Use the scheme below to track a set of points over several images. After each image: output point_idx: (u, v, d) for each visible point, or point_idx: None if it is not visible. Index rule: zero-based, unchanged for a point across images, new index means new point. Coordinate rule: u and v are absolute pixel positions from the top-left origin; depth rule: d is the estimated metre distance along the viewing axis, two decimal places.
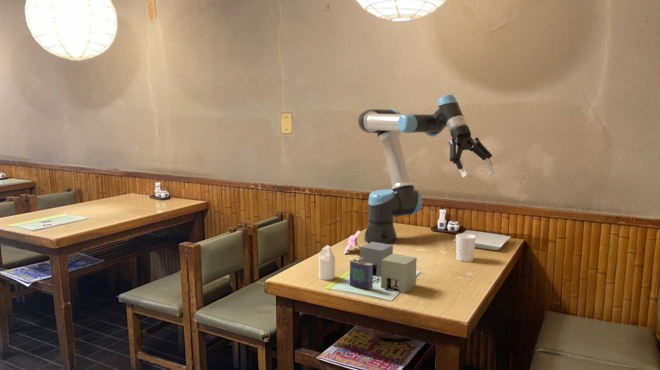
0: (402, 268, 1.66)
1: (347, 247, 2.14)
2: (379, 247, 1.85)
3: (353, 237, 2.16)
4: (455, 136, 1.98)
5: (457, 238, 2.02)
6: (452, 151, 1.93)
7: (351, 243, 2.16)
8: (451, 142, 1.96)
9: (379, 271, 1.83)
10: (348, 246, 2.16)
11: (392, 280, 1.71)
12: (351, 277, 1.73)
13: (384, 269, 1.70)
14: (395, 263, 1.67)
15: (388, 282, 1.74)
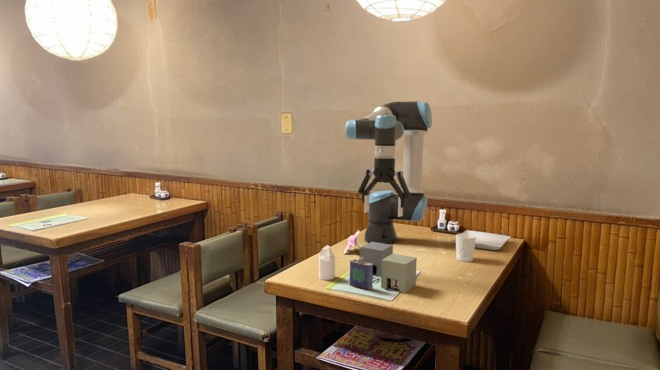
0: (402, 268, 1.66)
1: (347, 247, 2.14)
2: (379, 247, 1.85)
3: (353, 237, 2.16)
4: None
5: (457, 238, 2.02)
6: None
7: (351, 243, 2.15)
8: None
9: (379, 271, 1.83)
10: (348, 246, 2.16)
11: (392, 280, 1.71)
12: (351, 277, 1.73)
13: (384, 269, 1.70)
14: (395, 263, 1.67)
15: (388, 282, 1.74)
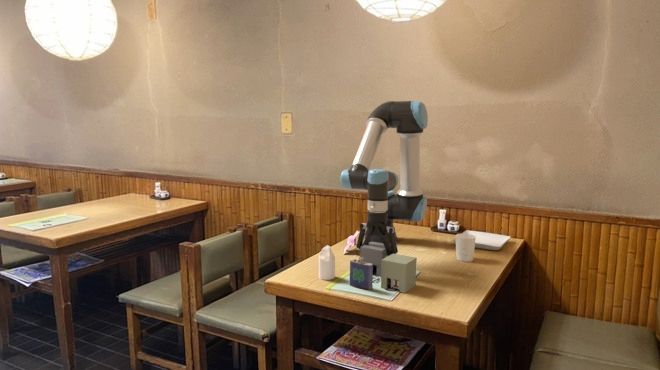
0: (402, 268, 1.66)
1: (346, 247, 2.14)
2: (379, 247, 1.85)
3: (352, 237, 2.16)
4: None
5: (457, 238, 2.02)
6: None
7: (350, 243, 2.15)
8: None
9: (379, 271, 1.83)
10: (347, 246, 2.16)
11: (392, 280, 1.71)
12: (351, 277, 1.73)
13: (384, 269, 1.70)
14: (395, 263, 1.67)
15: (388, 282, 1.74)
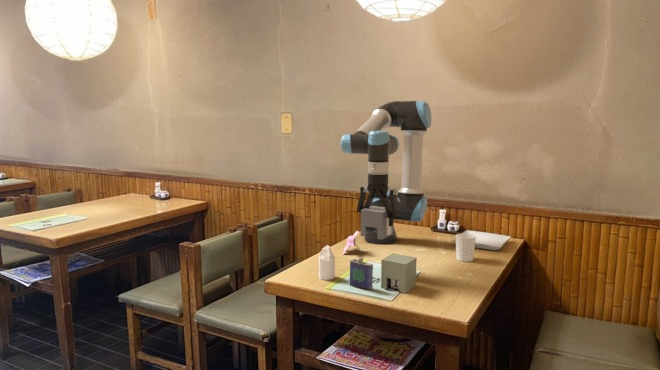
0: (402, 268, 1.66)
1: (346, 247, 2.13)
2: (380, 210, 1.82)
3: (351, 237, 2.16)
4: None
5: (457, 238, 2.02)
6: None
7: (350, 243, 2.15)
8: None
9: (380, 233, 1.80)
10: (347, 246, 2.15)
11: (392, 280, 1.71)
12: (351, 277, 1.73)
13: (384, 269, 1.70)
14: (395, 263, 1.67)
15: (388, 282, 1.74)
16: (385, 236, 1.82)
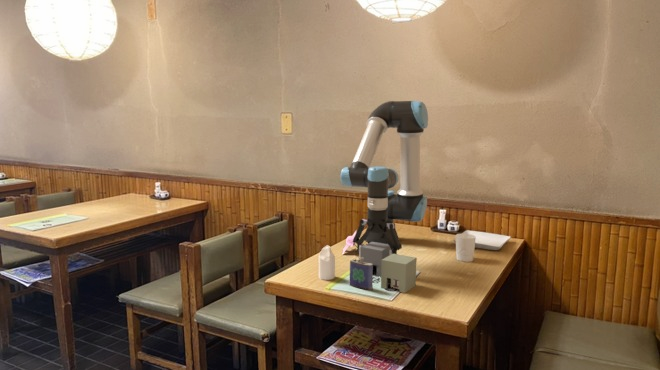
0: (402, 268, 1.66)
1: (345, 247, 2.13)
2: (379, 247, 1.85)
3: (351, 237, 2.16)
4: None
5: (457, 238, 2.02)
6: None
7: (349, 243, 2.15)
8: None
9: (379, 271, 1.83)
10: (346, 246, 2.15)
11: (392, 280, 1.71)
12: (351, 277, 1.73)
13: (384, 269, 1.70)
14: (395, 263, 1.67)
15: (388, 282, 1.74)
16: None
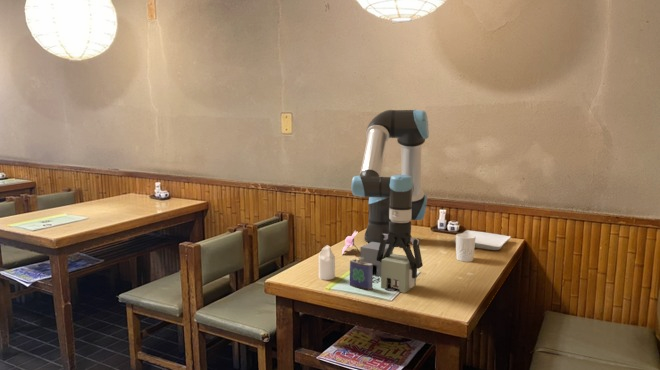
0: (402, 268, 1.66)
1: (344, 248, 2.13)
2: None
3: (350, 238, 2.15)
4: None
5: (457, 238, 2.02)
6: None
7: (348, 244, 2.15)
8: None
9: (379, 271, 1.83)
10: (345, 247, 2.15)
11: (392, 280, 1.71)
12: (351, 277, 1.73)
13: (384, 269, 1.70)
14: (395, 263, 1.67)
15: (388, 282, 1.74)
16: None
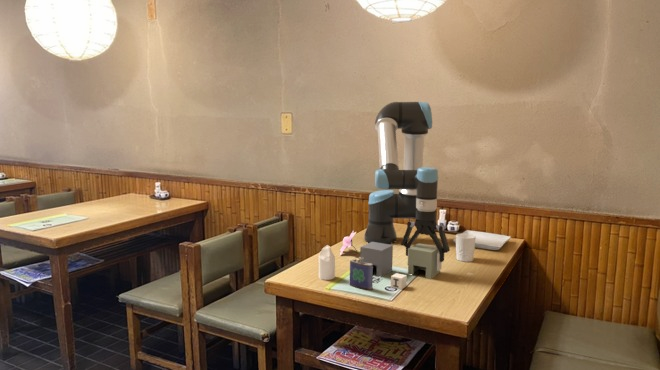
0: (428, 256, 1.80)
1: (342, 248, 2.12)
2: (379, 247, 1.85)
3: (348, 238, 2.15)
4: None
5: (457, 238, 2.02)
6: None
7: (346, 244, 2.14)
8: None
9: (379, 271, 1.83)
10: (343, 247, 2.14)
11: (392, 280, 1.71)
12: (351, 277, 1.73)
13: (411, 257, 1.84)
14: (422, 251, 1.81)
15: (414, 269, 1.88)
16: (384, 273, 1.84)
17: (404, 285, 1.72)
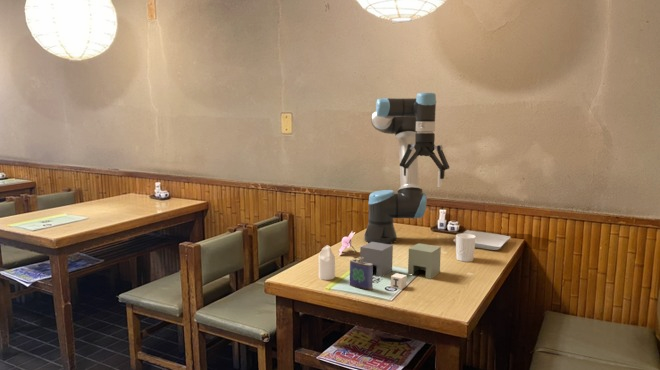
0: (428, 256, 1.80)
1: (341, 249, 2.12)
2: (379, 247, 1.85)
3: (347, 238, 2.14)
4: None
5: (457, 238, 2.02)
6: None
7: (345, 244, 2.13)
8: None
9: (379, 271, 1.83)
10: (342, 247, 2.14)
11: (392, 280, 1.72)
12: (351, 277, 1.73)
13: (411, 257, 1.84)
14: (422, 251, 1.81)
15: (414, 269, 1.88)
16: (384, 273, 1.84)
17: (404, 285, 1.72)
